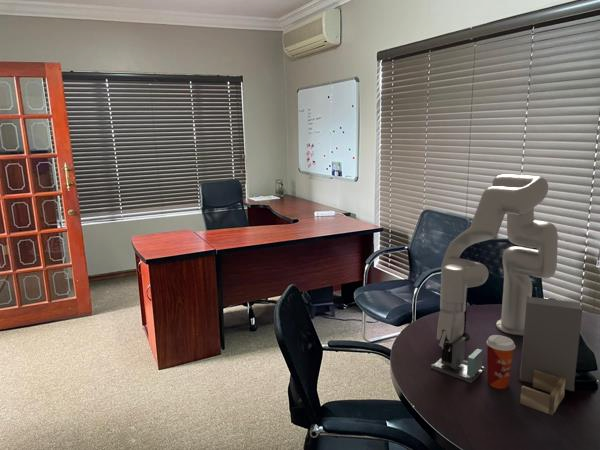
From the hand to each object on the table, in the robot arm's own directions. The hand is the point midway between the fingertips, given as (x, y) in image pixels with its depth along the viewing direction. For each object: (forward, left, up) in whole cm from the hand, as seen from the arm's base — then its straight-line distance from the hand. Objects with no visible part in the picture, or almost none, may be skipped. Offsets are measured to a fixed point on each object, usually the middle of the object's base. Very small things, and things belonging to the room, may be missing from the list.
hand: (450, 358), depth 139 cm
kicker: (0, +3, -2) cm, 4 cm away
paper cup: (0, +15, -3) cm, 15 cm away
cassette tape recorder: (-11, +25, -3) cm, 27 cm away
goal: (0, +27, -3) cm, 27 cm away
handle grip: (-22, -8, -3) cm, 23 cm away
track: (0, +2, -3) cm, 4 cm away
